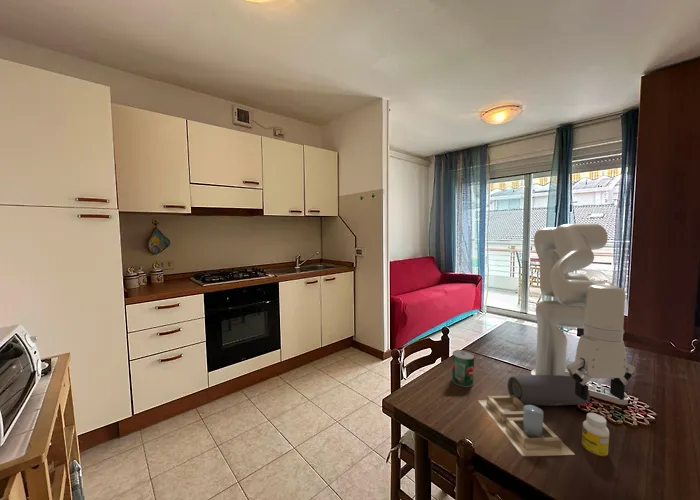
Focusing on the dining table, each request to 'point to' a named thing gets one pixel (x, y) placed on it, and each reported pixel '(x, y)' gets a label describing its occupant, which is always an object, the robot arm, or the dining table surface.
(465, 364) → the canned tomato
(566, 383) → the bluetooth speaker
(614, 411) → the dining table surface
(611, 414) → the dining table surface
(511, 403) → the cruet stand
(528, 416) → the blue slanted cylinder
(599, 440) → the supplement bottle
